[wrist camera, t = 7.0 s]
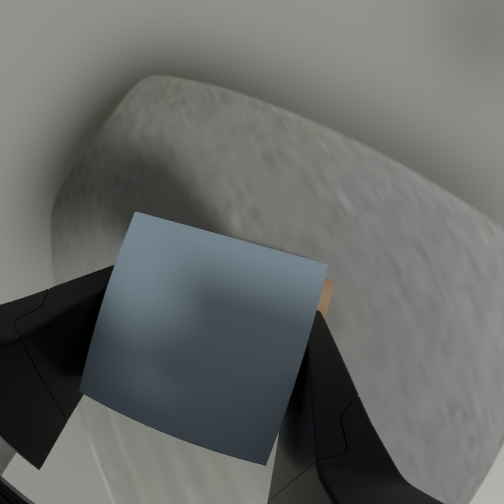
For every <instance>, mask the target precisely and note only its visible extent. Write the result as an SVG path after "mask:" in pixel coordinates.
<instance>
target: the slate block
mask: <svg viewBox="0 0 504 504" xmlns="http://www.w3.org/2000/svg"><path fill="white" fill-rule="evenodd" d="M327 268H328V264H325V263H321V262H317V261H314V260H310V259H307V258H303V257H300V256H296V255H292V254H289V253H285V252H282V251H278V250H275V249H271V248H267V247H264V246H260V245H257V244H253V243H249V242H246V241H242V240H238V239H235V238H231V237H228V236H224V235H220V234H217V233H213V232H209V231H206V230H202V229H198V228H195V227H191V226H187V225H184V224H180V223H176V222H173V221H169V220H165V219H161V218H158V217H154V216H150V215H147V214H143V213H139V212H135V213H134V215H133V218H132V220H131V223H130V225H129V228H128V231H127V233H126V236H125V238H124V241H123V244H122V246H121V249H120V252H119V254H118V257H117V260H116V263H115V266H114V269H113V271H112V274H111V277H110V280H109V283H108V286H107V289H106V292H105V296H104V299H103V302H102V305H101V308H100V312H99V315H98V319H97V322H96V325H95V329H94V333H93V336H92V340H91V344H90V347H89V351H88V355H87V359H86V363H85V368H84V372H83V376H82V381H81V385H80V390H79V392H81V393H83V394H85V395H86V396H88V397H90V398H92V399H94V400H96V401H97V402H99V403H101V404H103V405H105V406H107V407H109V408H111V409H113V410H115V411H117V412H119V413H121V414H123V415H125V416H127V417H129V418H131V419H133V420H136V421H138V422H140V423H142V424H144V425H147V426H149V427H151V428H154V429H156V430H158V431H161V432H163V433H166V434H168V435H171V436H173V437H176V438H178V439H181V440H184V441H186V442H189V443H192V444H195V445H198V446H200V447H203V448H206V449H209V450H212V451H215V452H219V453H222V454H225V455H228V456H232V457H235V458H239V459H242V460H246V461H250V462H253V463H257V464H261V465H265V466H266V464H267V461H268V458H269V456H270V453H271V451H272V448H273V445H274V442H275V440H276V437H277V434H278V431H279V429H280V426H281V423H282V420H283V417H284V414H285V411H286V409H287V406H288V403H289V400H290V397H291V394H292V391H293V387H294V384H295V381H296V378H297V375H298V372H299V369H300V365H301V362H302V359H303V356H304V352H305V349H306V346H307V342H308V339H309V335H310V332H311V328H312V325H313V321H314V318H315V314H316V310H317V307H318V303H319V299H320V295H321V291H322V288H323V284H324V280H325V276H326V272H327Z"/></svg>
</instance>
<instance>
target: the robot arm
mask: <svg viewBox="0 0 504 504" xmlns="http://www.w3.org/2000/svg"><path fill="white" fill-rule="evenodd" d="M114 266H115V265H113V266H110V267H107V268H104V269H101V270H99V271H96V272H93V273H90V274H87V275H85V276H82V277H79V278H76V279H74V280H71V281H68V282H65V283H63V284H60V285H57V286H55V287H52V288H50V289H49V290H48V289H46V290H44V291H41V292H39V293H36V294H33V295H30V296H27V297H24V298H21V299H18V300H15V301H12V302H8V303H5V304H1V305H0V504H35V503H33V502H32V501H31V500H29V499H28V498H27V497H26V496H24V495H23V494H22V493H20V492H19V491H18V490H17V489H16V488H15V487H13V486H12V485H11V484H9V482H7V481H6V480H5V479H4V478H3V477H2V476H1V475H2V474H3V472H4V471H5V469H6V467H7V466H8V464H9V463H10V461H11V460H12V458H13V457H14V455H15V454H16V452H17V453H18V454H19V455H20V456H22V457H23V458H24V459H25V460H27V461H28V462H29V463H30V464H32V465H33V466H34V467H36V468H37V469H38V470H40V468H41V467H42V465H43V463H44V462H45V460H46V458H47V456H48V454H49V453H50V451H51V449H52V447H53V446H54V444H55V442H56V440H57V439H58V437H59V435H60V433H61V432H62V430H63V428H64V427H65V425H66V423H67V420H68V419H69V418H70V416H71V414H72V413H73V411H74V409H75V408H76V406H77V405H78V403H79V401H80V400H81V398H82V396H83V395H84V394H83V393H81V392H79V390H80V385H81V381H82V376H83V372H84V368H85V363H86V359H87V355H88V351H89V347H90V344H91V340H92V336H93V333H94V329H95V325H96V322H97V319H98V315H99V312H100V308H101V305H102V302H103V299H104V296H105V292H106V289H107V286H108V283H109V280H110V277H111V274H112V271H113V269H114ZM267 504H444V503H442V502H440V501H438V500H436V499H435V498H433V497H431V496H429V495H427V494H426V493H424V492H422V491H420V490H419V489H417V488H415V487H414V486H412V485H411V484H410V483H408V482H407V481H406V480H405V479H404V477H403V476H402V475H401V474H400V472H399V470H398V469H397V467H396V465H395V464H394V462H393V460H392V458H391V457H390V455H389V453H388V451H387V450H386V448H385V446H384V445H383V443H382V441H381V439H380V438H379V436H378V434H377V432H376V430H375V428H374V427H373V425H372V423H371V421H370V419H369V417H368V415H367V412H366V410H365V408H364V406H363V404H362V401H361V399H360V397H358V392H357V390H356V388H355V386H354V383H353V381H352V379H351V377H350V374H349V372H348V370H347V368H346V365H345V363H344V361H343V359H342V356H341V354H340V352H339V350H338V348H337V345H336V343H335V341H334V339H333V337H332V335H331V332H330V330H329V328H328V326H327V324H326V322H325V319H324V317H323V315H322V313H321V312H320V311H319V310H316V314H315V318H314V321H313V325H312V328H311V332H310V335H309V339H308V342H307V346H306V349H305V352H304V356H303V359H302V362H301V365H300V369H299V372H298V375H297V378H296V381H295V384H294V387H293V391H292V394H291V397H290V400H289V403H288V406H287V409H286V411H285V414H284V417H283V420H282V423H281V426H280V430H279V436H278V443H277V449H276V456H275V462H274V468H273V474H272V480H271V486H270V491H269V497H268V503H267Z"/></svg>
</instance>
